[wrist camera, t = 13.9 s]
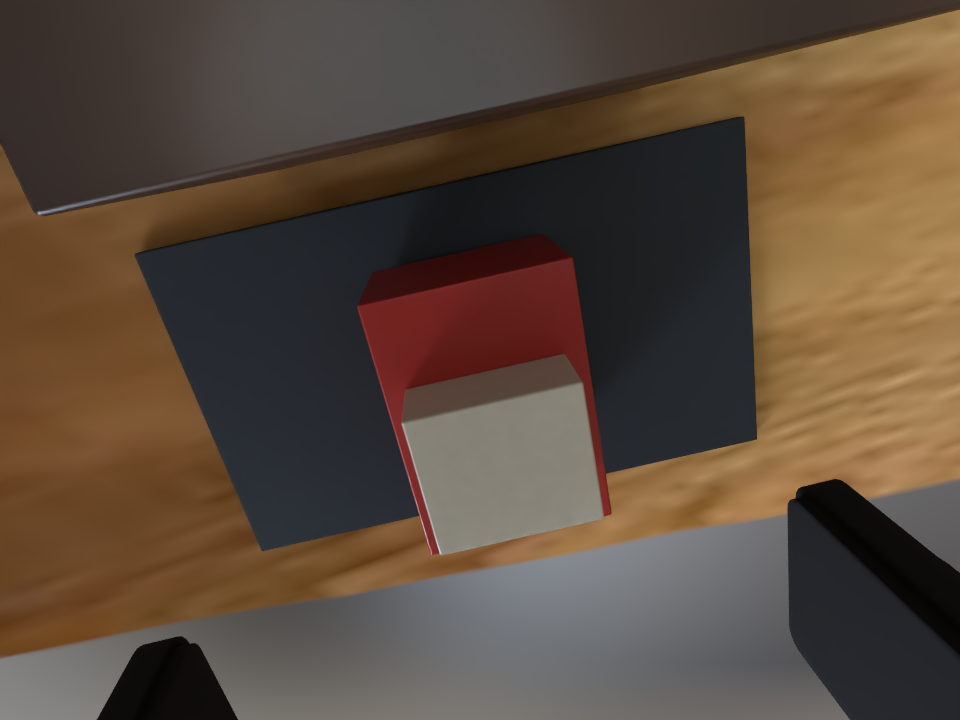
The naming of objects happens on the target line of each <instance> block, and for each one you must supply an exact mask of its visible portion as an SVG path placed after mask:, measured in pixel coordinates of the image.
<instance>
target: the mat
mask: <svg viewBox="0 0 960 720" xmlns="http://www.w3.org/2000/svg"><path fill="white" fill-rule="evenodd" d="M539 234H545V235H546V236H547V237H548V238H550V239H551V240H552V241H553V242H554V243H556V244H557V245H558V246H559V247H560V248H562V249H563V250H564V251H565V252H566V253H568V254H569V255H570V256H571V257H572V258H573V262H574V269H575V275H576V282H577V289H578V295H579V302H580V308H581V315H582V321H583V328H584V335H585V341H586V348H587V354H588V361H589V367H590V374H591V381H592V387H593V394H594V400H595V407H596V413H597V420H598V427H599V433H600V440H601V446H602V453H603V459H604V466H605V473H610V472H615V471H619V470H624V469H628V468H633V467H637V466H641V465H646V464H650V463H655V462H659V461H664V460H668V459H672V458H677V457H681V456H686V455H690V454H695V453H699V452H703V451H708V450H712V449H717V448H721V447H726V446H730V445H734V444H739V443H743V442H748V441H752V440H756V439H757V426H756V400H755V375H754V350H753V325H752V300H751V274H750V249H749V224H748V199H747V174H746V148H745V123H744V117H736V118H731V119H727V120H723V121H718V122H714V123H709V124H705V125H700V126H696V127H692V128H687V129H683V130H678V131H674V132H669V133H665V134H661V135H656V136H652V137H647V138H643V139H638V140H634V141H630V142H625V143H621V144H616V145H612V146H607V147H603V148H599V149H594V150H590V151H585V152H581V153H577V154H572V155H568V156H563V157H559V158H554V159H550V160H546V161H541V162H537V163H532V164H528V165H523V166H519V167H515V168H510V169H506V170H501V171H497V172H492V173H488V174H484V175H479V176H475V177H470V178H466V179H461V180H457V181H453V182H448V183H444V184H439V185H435V186H430V187H426V188H422V189H417V190H413V191H408V192H404V193H399V194H395V195H391V196H386V197H382V198H377V199H373V200H368V201H364V202H360V203H355V204H351V205H346V206H342V207H337V208H333V209H329V210H324V211H320V212H315V213H311V214H306V215H302V216H298V217H293V218H289V219H284V220H280V221H275V222H271V223H267V224H262V225H258V226H253V227H249V228H244V229H240V230H236V231H231V232H227V233H222V234H218V235H213V236H209V237H205V238H200V239H196V240H191V241H187V242H182V243H178V244H174V245H169V246H165V247H160V248H156V249H151V250H147V251H143V252H139V253H136V254H135V257H136V259H137V262H138V264H139V266H140V269H141V271H142V273H143V276H144V278H145V280H146V283H147V285H148V287H149V290H150V292H151V294H152V297H153V299H154V301H155V304H156V306H157V308H158V311H159V313H160V315H161V317H162V320H163V322H164V324H165V327H166V329H167V331H168V334H169V336H170V338H171V341H172V343H173V345H174V348H175V350H176V352H177V355H178V357H179V359H180V362H181V364H182V366H183V369H184V371H185V373H186V376H187V378H188V380H189V383H190V385H191V387H192V390H193V392H194V394H195V397H196V399H197V401H198V404H199V406H200V408H201V411H202V413H203V415H204V418H205V420H206V422H207V424H208V427H209V429H210V431H211V434H212V436H213V438H214V441H215V443H216V445H217V448H218V450H219V452H220V455H221V457H222V459H223V462H224V464H225V466H226V469H227V471H228V473H229V476H230V478H231V480H232V483H233V485H234V487H235V490H236V492H237V494H238V497H239V499H240V501H241V504H242V506H243V508H244V511H245V513H246V515H247V518H248V520H249V522H250V525H251V527H252V529H253V531H254V534H255V536H256V538H257V541H258V543H259V545H260V548H261V550H262V551H265V550H270V549H274V548H278V547H283V546H287V545H292V544H296V543H301V542H305V541H309V540H314V539H318V538H323V537H327V536H332V535H336V534H340V533H345V532H349V531H354V530H358V529H363V528H367V527H371V526H376V525H380V524H385V523H389V522H394V521H398V520H402V519H407V518H411V517H416V516H419V513H418V509H417V506H416V503H415V499H414V496H413V492H412V489H411V486H410V482H409V479H408V476H407V472H406V469H405V466H404V462H403V459H402V456H401V452H400V449H399V446H398V442H397V439H396V436H395V432H394V429H393V426H392V422H391V419H390V415H389V412H388V409H387V405H386V402H385V399H384V395H383V392H382V389H381V385H380V382H379V379H378V375H377V372H376V369H375V365H374V362H373V359H372V355H371V352H370V349H369V345H368V342H367V338H366V335H365V332H364V328H363V325H362V322H361V318H360V315H359V312H358V308H357V305H358V303H359V301H360V298H361V296H362V294H363V292H364V289H365V287H366V285H367V283H368V280H369V278H370V276H371V273H372V272H375V271H380V270H384V269H389V268H393V267H397V266H402V265H406V264H411V263H415V262H420V261H424V260H428V259H433V258H437V257H442V256H446V255H451V254H455V253H459V252H464V251H468V250H473V249H477V248H482V247H486V246H490V245H495V244H499V243H504V242H508V241H513V240H517V239H521V238H526V237H530V236H535V235H539Z"/></svg>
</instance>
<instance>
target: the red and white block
mask: <svg viewBox="0 0 960 720" xmlns="http://www.w3.org/2000/svg"><path fill="white" fill-rule="evenodd" d="M357 308H358V312H359V315H360V318H361V322H362V325H363V328H364V332H365V335H366V338H367V342H368V345H369V349H370V352H371V355H372V359H373V362H374V365H375V369H376V372H377V375H378V379H379V382H380V385H381V389H382V392H383V395H384V399H385V402H386V405H387V409H388V412H389V415H390V419H391V422H392V426H393V429H394V432H395V436H396V439H397V442H398V446H399V449H400V452H401V456H402V459H403V462H404V466H405V469H406V472H407V476H408V479H409V482H410V486H411V489H412V492H413V496H414V499H415V503H416V506H417V509H418V513H419V516H420V519H421V523H422V526H423V529H424V533H425V536H426V539H427V543H428V546H429V549H430V553H431V554H432V555H434V554H439V553H440V555H445V554H450V553H454V552H459V551H463V550H467V549H472V548H476V547H481V546H485V545H490V544H494V543H498V542H503V541H507V540H512V539H516V538H520V537H525V536H529V535H534V534H538V533H543V532H547V531H551V530H556V529H560V528H565V527H569V526H574V525H578V524H582V523H587V522H591V521H596V520H600V519H603V518H604V516H607V515H610V514H611V505H610V499H609V492H608V486H607V479H606V473H605V466H604V459H603V453H602V446H601V440H600V433H599V427H598V420H597V413H596V407H595V400H594V394H593V387H592V381H591V374H590V367H589V361H588V354H587V348H586V341H585V335H584V328H583V321H582V315H581V308H580V302H579V295H578V289H577V282H576V275H575V269H574V262H573V258H572V257H571V256H570V255H569V254H568V253H566V252H565V251H564V250H563V249H562V248H560V247H559V246H558V245H557V244H556V243H554V242H553V241H552V240H551V239H550V238H548V237H547V236H546V235H545V234H539V235H535V236H530V237H526V238H521V239H517V240H513V241H508V242H504V243H499V244H495V245H490V246H486V247H482V248H477V249H473V250H468V251H464V252H459V253H455V254H451V255H446V256H442V257H437V258H433V259H428V260H424V261H420V262H415V263H411V264H406V265H402V266H397V267H393V268H389V269H384V270H380V271H375V272H372V273H371V276H370V278H369V280H368V283H367V285H366V287H365V289H364V292H363V294H362V296H361V298H360V301H359V303H358V305H357Z"/></svg>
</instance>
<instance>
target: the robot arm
mask: <svg viewBox="0 0 960 720" xmlns="http://www.w3.org/2000/svg"><path fill="white" fill-rule="evenodd" d="M788 561H789V562H788V569H789V626H790V632H791V635H792V638H793V641H794V643H795V645H796V647H797V648H798V650H799V652H800V653H801V654H802V656H803V657H804V659H805V660H806V661H807V663H808V664H809V665H810V667H811V668H812V669H813V671H814V672H815V673H816V675H817V676H818V677H819V678H820V680H821V681H822V683H823V684H824V685H825V687H826V688H827V689H828V691H829V692H830V693H831V695H832V696H833V697H834V699H835V700H836V701H837V703H838V704H839V706H840V707H841V708H842V710H843V711H844V712H845V713H846V715H847V716H848V717H849V719H850V720H960V573H959V572H958V571H956V570H955V569H954V568H953V567H952V566H950V565H949V564H948V563H946V562H945V561H943V560H942V559H940V558H939V557H937V556H936V555H935V554H933V553H932V552H931V551H929V550H928V549H927V548H926V547H924V546H923V545H922V544H921V543H920V542H918V541H917V540H916V539H915V538H913V537H912V536H911V535H910V534H908V533H907V532H906V531H905V530H903V529H902V528H901V527H900V526H898V525H897V524H896V523H895V522H893V521H892V520H891V519H890V518H888V517H887V516H886V515H885V514H884V513H882V512H881V511H880V510H878V509H877V508H876V507H875V506H874V505H872V504H871V503H870V502H869V501H867V500H866V499H865V498H864V497H862V496H861V495H860V494H859V493H857V492H856V491H855V490H854V489H852V488H851V487H850V486H849V485H847V484H846V483H845V482H843V481H841V480H838V479H833V480H829V481H825V482H820V483H816V484H812V485H808V486H804V487H801V488H799V489H798V490H797V492H796V498H795V499H792V500H790V501H789V503H788ZM97 720H238V719H237V717H236V715H235V713H234V711H233V709H232V708H231V706H230V704H229V702H228V700H227V698H226V696H225V694H224V692H223V690H222V688H221V686H220V685H219V683H218V681H217V679H216V677H215V675H214V673H213V671H212V669H211V668H210V665H209V663H208V662H207V660H206V658H205V656H204V654H203V652H202V650H201V648H200V647H199V646H198V645H197V644H195V643H192V644H189V642H188V641H187V640H186V639H185V638H184V637H182V636H180V637H174V638H170V639H166V640H162V641H157V642H153V643H149V644H145V645H142V646H140V647H139V648H137V650H136V651H135V652H134V654H133V655H132V657H131V659H130V661H129V663H128V664H127V666H126V668H125V670H124V672H123V673H122V675H121V677H120V679H119V681H118V683H117V684H116V686H115V688H114V690H113V692H112V694H111V695H110V697H109V699H108V701H107V702H106V704H105V706H104V708H103V710H102V712H101V713H100V715H99V717H98V719H97Z"/></svg>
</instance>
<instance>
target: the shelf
mask: <svg viewBox="0 0 960 720" xmlns="http://www.w3.org/2000/svg"><path fill="white" fill-rule="evenodd" d="M956 10H960V0H0V143H1V145H2V147H3V149H4V151H5V154H6V156H7V158H8V160H9V162H10V164H11V166H12V168H13V170H14V172H15V174H16V176H17V178H18V181H19V183H20V185H21V187H22V189H23V191H24V193H25V195H26V197H27V199H28V201H29V203H30V206H31V208H32V210H33V211H34V212H35V213H36V214H37V215H42V216H48V215H53V214H58V213H63V212H68V211H73V210H78V209H83V208H89V207H94V206H99V205H104V204H109V203H114V202H119V201H124V200H129V199H134V198H139V197H145V196H150V195H155V194H160V193H165V192H170V191H175V190H180V189H185V188H190V187H195V186H200V185H205V184H210V183H215V182H220V181H225V180H230V179H235V178H241V177H246V176H251V175H256V174H261V173H266V172H271V171H276V170H280V169H285V168H289V167H294V166H298V165H302V164H307V163H311V162H316V161H320V160H325V159H329V158H333V157H338V156H342V155H347V154H351V153H356V152H360V151H364V150H369V149H373V148H378V147H382V146H387V145H391V144H395V143H400V142H404V141H409V140H413V139H418V138H422V137H426V136H431V135H435V134H440V133H444V132H449V131H453V130H457V129H462V128H466V127H471V126H475V125H480V124H484V123H488V122H493V121H497V120H502V119H506V118H511V117H515V116H519V115H524V114H528V113H533V112H537V111H542V110H546V109H550V108H555V107H559V106H564V105H568V104H573V103H577V102H581V101H586V100H590V99H595V98H599V97H604V96H608V95H612V94H617V93H621V92H626V91H630V90H635V89H639V88H643V87H647V86H651V85H656V84H660V83H664V82H668V81H672V80H676V79H680V78H684V77H688V76H692V75H696V74H700V73H704V72H708V71H712V70H716V69H720V68H725V67H729V66H733V65H737V64H741V63H745V62H749V61H753V60H757V59H761V58H765V57H769V56H773V55H777V54H781V53H785V52H790V51H794V50H798V49H802V48H806V47H810V46H814V45H818V44H822V43H826V42H830V41H834V40H838V39H842V38H846V37H850V36H855V35H859V34H863V33H867V32H871V31H875V30H879V29H883V28H887V27H891V26H895V25H899V24H903V23H907V22H911V21H915V20H919V19H923V18H927V17H932V16H936V15H940V14H944V13H948V12H952V11H956Z"/></svg>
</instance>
